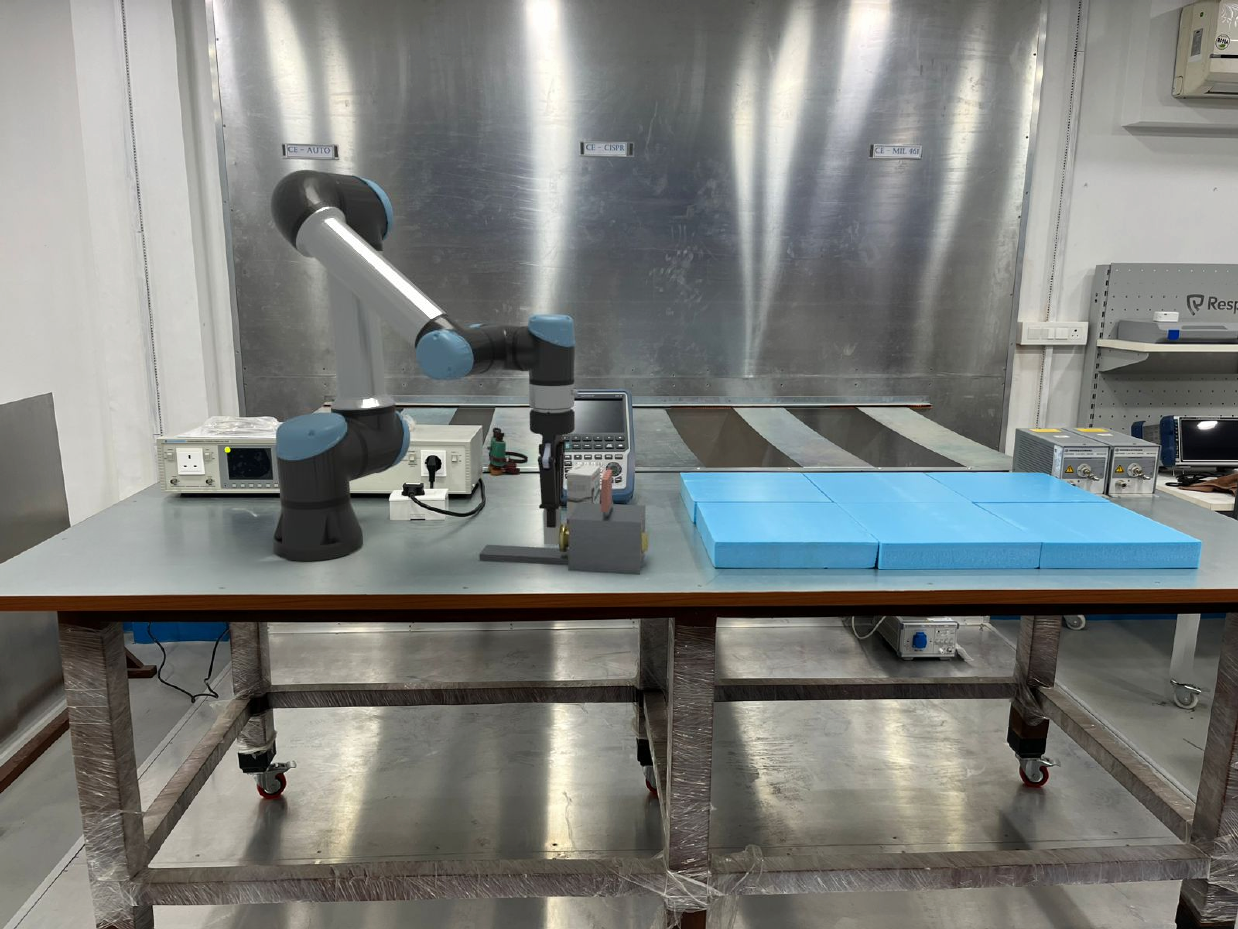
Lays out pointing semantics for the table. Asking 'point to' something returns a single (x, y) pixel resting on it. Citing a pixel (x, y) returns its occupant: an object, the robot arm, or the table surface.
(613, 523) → the block
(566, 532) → the lynch pin
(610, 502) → the salmon pink slab
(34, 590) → the table surface
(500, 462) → the green pump
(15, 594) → the table surface
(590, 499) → the ink box
